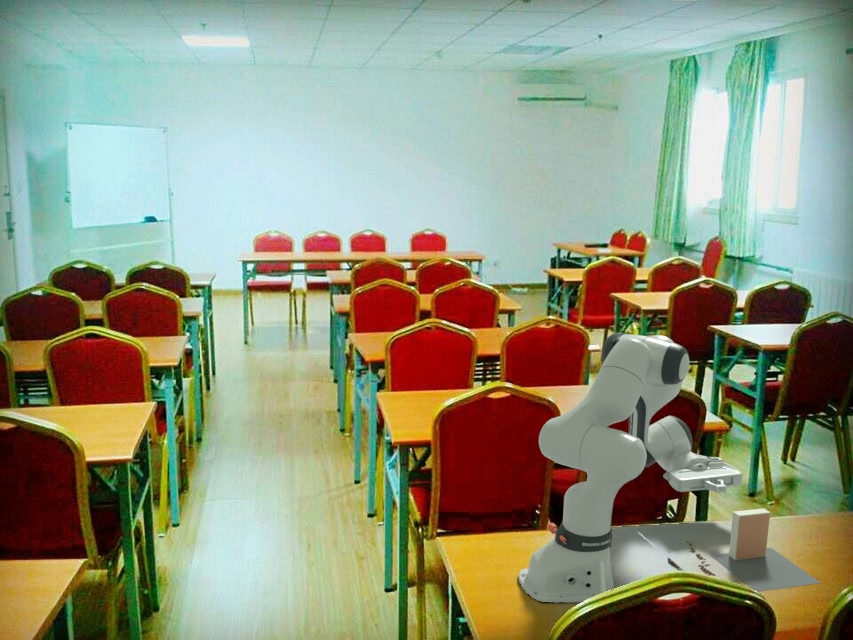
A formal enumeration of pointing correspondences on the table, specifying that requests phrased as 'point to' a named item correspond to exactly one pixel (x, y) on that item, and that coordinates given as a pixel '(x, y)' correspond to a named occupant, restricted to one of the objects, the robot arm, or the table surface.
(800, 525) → the table surface
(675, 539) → the table surface
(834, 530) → the table surface
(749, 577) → the mat
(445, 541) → the table surface
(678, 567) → the wooden fragment
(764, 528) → the tile
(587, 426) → the robot arm
